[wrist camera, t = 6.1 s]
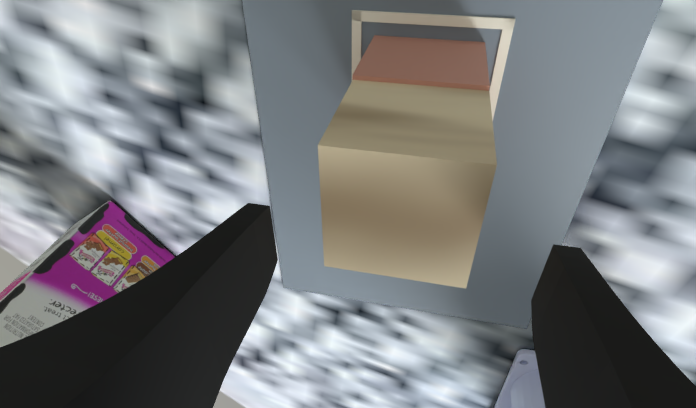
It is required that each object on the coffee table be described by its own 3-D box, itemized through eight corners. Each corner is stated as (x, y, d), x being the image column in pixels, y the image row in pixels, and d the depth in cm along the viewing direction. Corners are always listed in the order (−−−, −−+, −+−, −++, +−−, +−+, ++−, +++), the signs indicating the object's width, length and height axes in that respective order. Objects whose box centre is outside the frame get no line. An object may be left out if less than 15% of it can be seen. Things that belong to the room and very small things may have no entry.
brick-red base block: (466, 140, 20) (466, 197, 17) (371, 131, 21) (352, 183, 17) (485, 42, 17) (489, 85, 14) (374, 35, 18) (352, 75, 15)
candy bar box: (75, 221, 30) (-201, 471, 18) (111, 195, 28) (-180, 465, 15) (189, 317, 35) (32, 571, 22) (229, 302, 32) (78, 578, 20)
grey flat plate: (526, 326, 27) (526, 330, 27) (284, 285, 30) (283, 288, 30) (673, -32, 15) (676, -30, 14) (237, -45, 17) (234, -44, 17)
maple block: (466, 200, 17) (466, 288, 13) (352, 186, 17) (324, 265, 14) (489, 90, 14) (496, 164, 10) (352, 79, 15) (317, 145, 11)
